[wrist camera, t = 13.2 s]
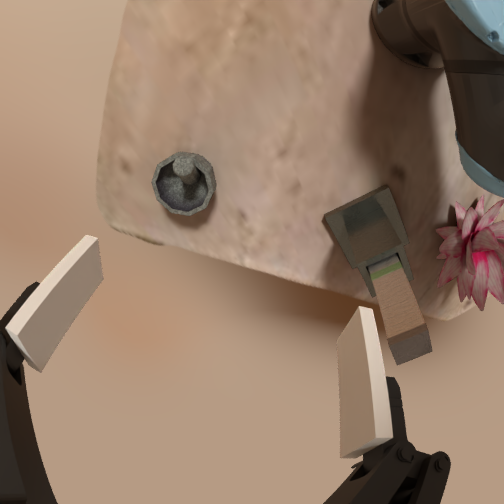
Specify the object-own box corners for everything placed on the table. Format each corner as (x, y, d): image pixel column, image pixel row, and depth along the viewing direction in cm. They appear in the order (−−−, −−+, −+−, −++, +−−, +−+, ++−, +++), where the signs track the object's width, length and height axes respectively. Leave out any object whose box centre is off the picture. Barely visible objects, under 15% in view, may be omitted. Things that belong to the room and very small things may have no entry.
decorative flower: (460, 160, 38) (509, 195, 26) (516, 212, 40) (556, 252, 28) (401, 253, 50) (426, 308, 38) (464, 286, 52) (489, 334, 40)
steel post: (385, 230, 41) (428, 329, 24) (393, 252, 43) (432, 351, 26) (359, 242, 43) (389, 346, 26) (369, 263, 44) (397, 365, 28)
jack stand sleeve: (386, 184, 43) (413, 221, 33) (407, 238, 48) (431, 283, 37) (324, 214, 48) (332, 258, 37) (351, 264, 53) (362, 313, 42)
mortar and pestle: (208, 206, 50) (187, 243, 40) (162, 184, 49) (130, 215, 39) (235, 151, 44) (218, 175, 34) (184, 127, 42) (152, 144, 33)
